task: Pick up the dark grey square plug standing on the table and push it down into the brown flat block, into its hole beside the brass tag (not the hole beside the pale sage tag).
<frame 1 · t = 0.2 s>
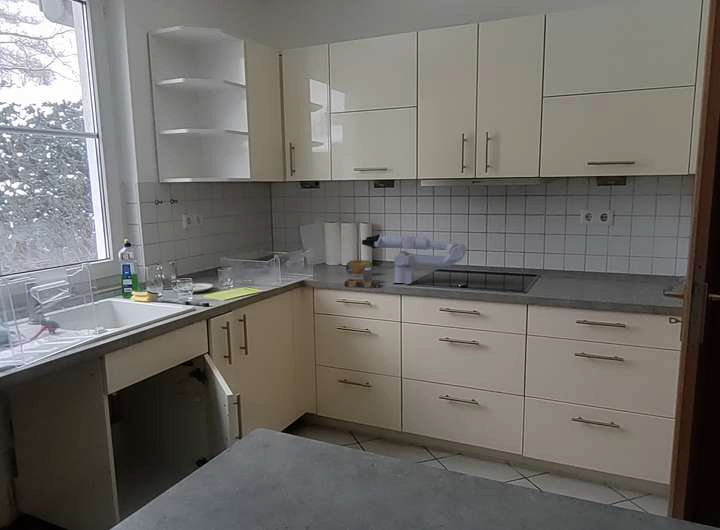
hand: (364, 240, 264), 21 cm above the countertop, tool horizontal, fingers open, 7 cm apart
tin: (360, 275, 285), on the countertop
brown flat block: (362, 285, 258), on the countertop
plug: (368, 283, 264), on the countertop
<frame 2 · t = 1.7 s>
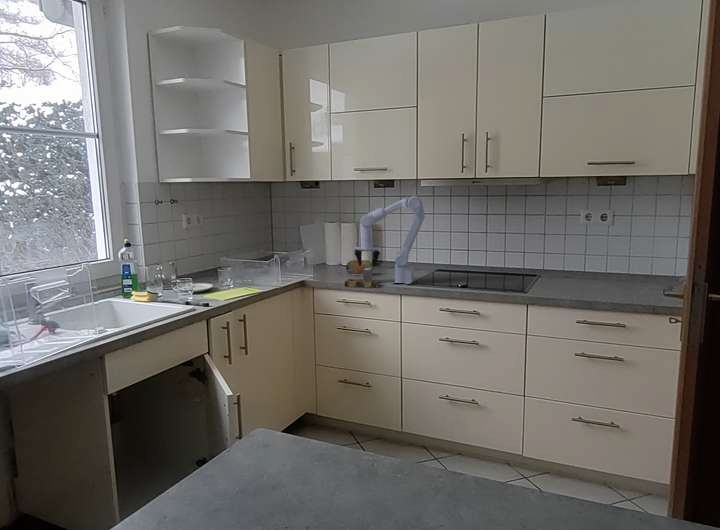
hand: (367, 265, 262), 9 cm above the countertop, tool pointing down, fingers open, 7 cm apart
nothing on the countertop moved.
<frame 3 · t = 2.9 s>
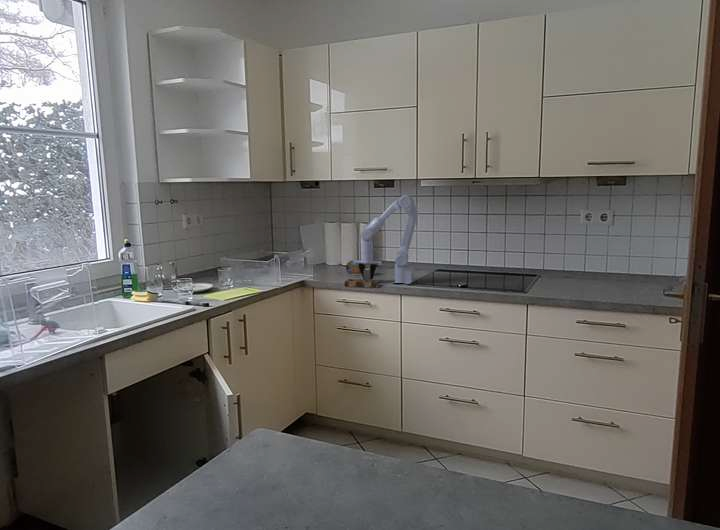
hand: (367, 278, 263), 2 cm above the countertop, tool pointing down, fingers closed on plug, 4 cm apart
plug: (368, 282, 264), on the countertop, touching gripper
everything else where it was.
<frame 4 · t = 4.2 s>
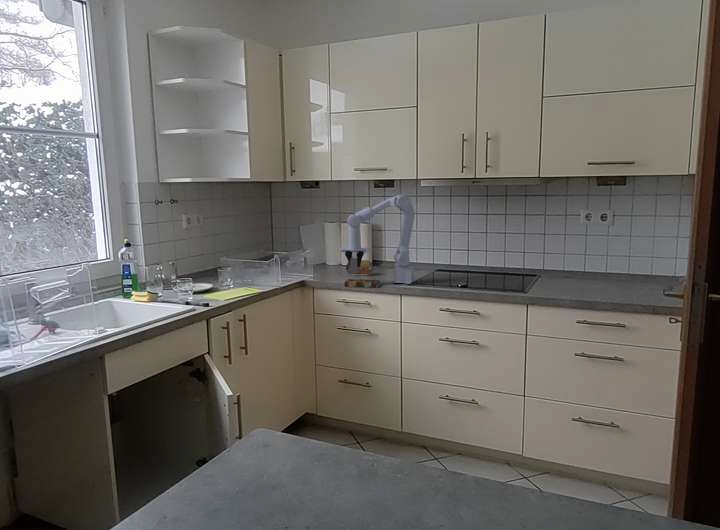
hand: (354, 266, 257), 10 cm above the countertop, tool pointing down, fingers closed on plug, 4 cm apart
plug: (355, 271, 258), point 7 cm above the countertop, touching gripper
everything else where it was.
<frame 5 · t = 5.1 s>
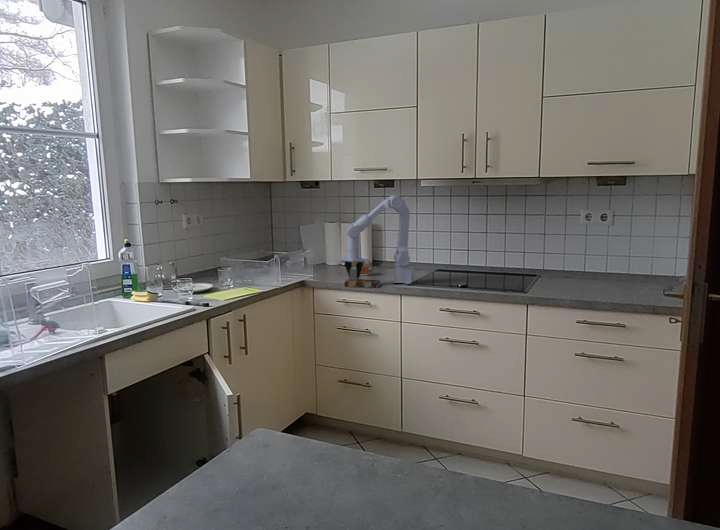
hand: (354, 277, 258), 4 cm above the countertop, tool pointing down, fingers closed on plug, 4 cm apart
plug: (354, 282, 259), point 2 cm above the countertop, touching gripper
everything else where it was.
when the fingers open (3 cm above the countertop, at t = 5.7 s): plug stays where it is, resting in brown flat block.
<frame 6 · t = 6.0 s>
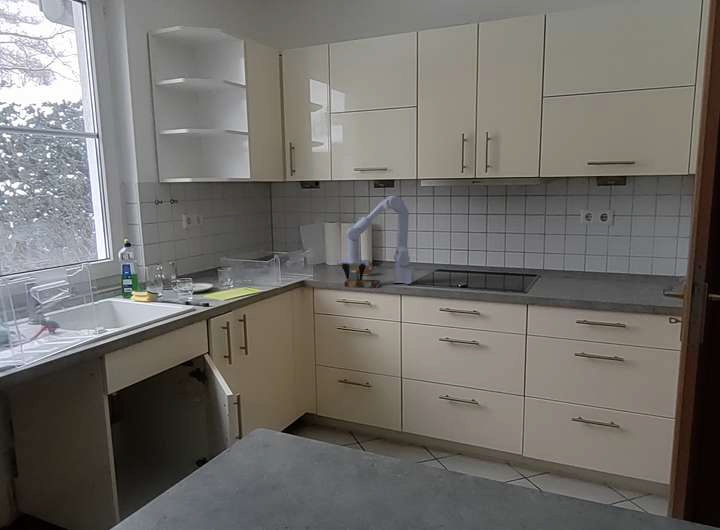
hand: (354, 279, 258), 3 cm above the countertop, tool pointing down, fingers open, 6 cm apart
plug: (354, 285, 259), resting in brown flat block
everything else where it was.
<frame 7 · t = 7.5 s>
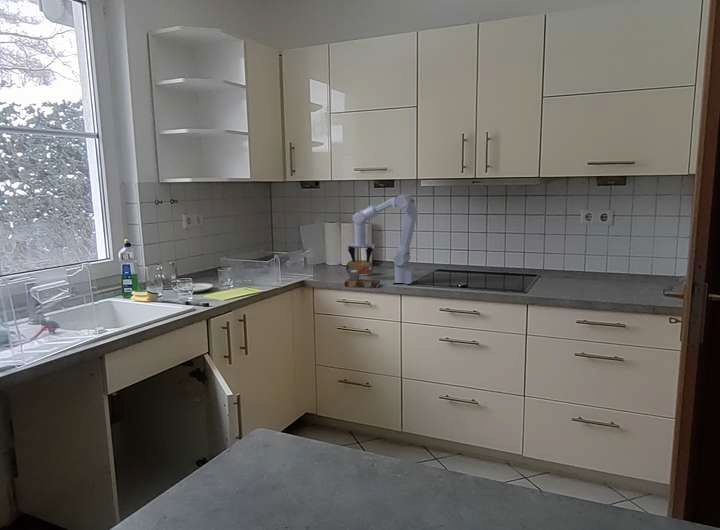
hand: (360, 261, 268), 10 cm above the countertop, tool pointing down, fingers open, 7 cm apart
nothing on the countertop moved.
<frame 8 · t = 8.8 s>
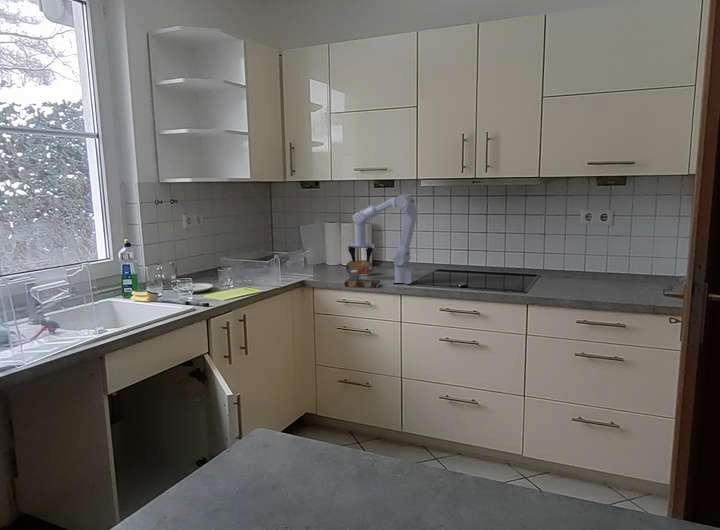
hand: (360, 261, 268), 10 cm above the countertop, tool pointing down, fingers open, 7 cm apart
nothing on the countertop moved.
at the end: plug 0.1 cm from the target spot on the brown flat block, point 0.0 cm above the brown flat block's base; plug tilted 0°; the gripper is holding nothing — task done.
